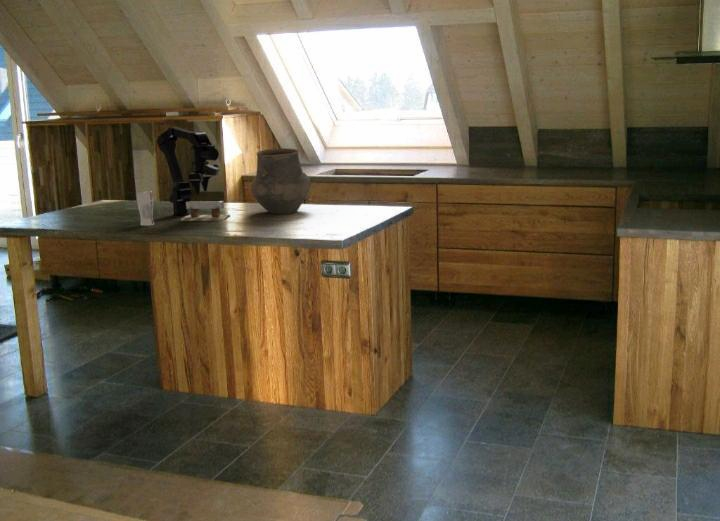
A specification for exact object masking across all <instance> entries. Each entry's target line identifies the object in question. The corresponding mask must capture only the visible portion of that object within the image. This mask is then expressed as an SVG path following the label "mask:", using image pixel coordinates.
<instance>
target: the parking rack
mask: <svg viewBox="0 0 720 521" xmlns="http://www.w3.org/2000/svg"><path fill="white" fill-rule="evenodd" d="M210 210H211V211H210V212H211V214H200V209H190V214H187V215H185V216H184V217H182V218H180V221H182V222H194V221H195V222H196V221H197V222H207V221H208V222H209V221H210V222H215V221H216V222H217V221H218V222H219V221H220V222H221V221H222V222H223V221H225V220H227V219H229V218H231V214H221V212H220V210H221V209H210Z"/></svg>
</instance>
